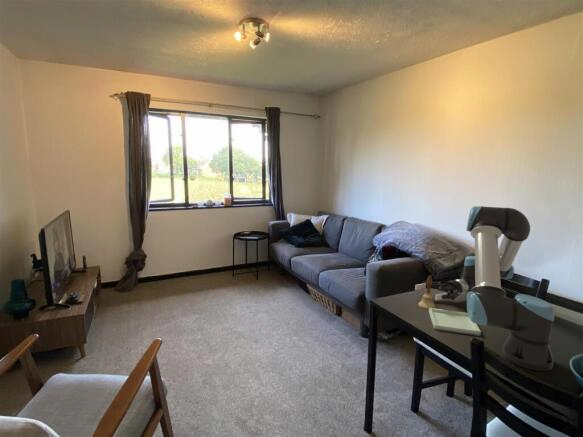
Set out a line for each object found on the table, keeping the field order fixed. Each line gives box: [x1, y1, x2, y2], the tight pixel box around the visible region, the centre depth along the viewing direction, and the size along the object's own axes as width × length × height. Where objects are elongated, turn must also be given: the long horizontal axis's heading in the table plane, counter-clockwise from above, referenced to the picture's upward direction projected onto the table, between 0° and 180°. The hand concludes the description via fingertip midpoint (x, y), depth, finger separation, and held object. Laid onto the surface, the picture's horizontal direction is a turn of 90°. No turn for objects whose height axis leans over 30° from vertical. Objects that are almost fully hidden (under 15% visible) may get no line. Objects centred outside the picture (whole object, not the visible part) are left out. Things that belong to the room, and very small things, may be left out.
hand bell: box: [418, 275, 437, 310], centre depth 161 cm, size 8×8×16 cm
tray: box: [428, 308, 482, 337], centre depth 145 cm, size 18×18×2 cm
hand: (425, 292), depth 161 cm, fingers open, 13 cm apart
